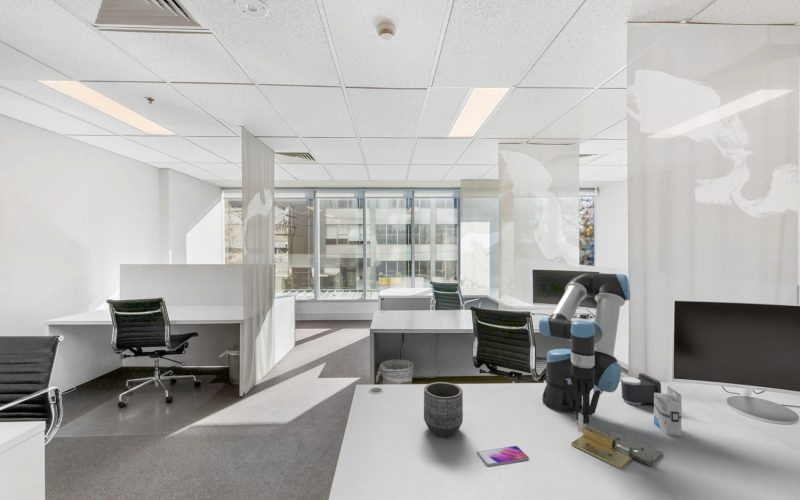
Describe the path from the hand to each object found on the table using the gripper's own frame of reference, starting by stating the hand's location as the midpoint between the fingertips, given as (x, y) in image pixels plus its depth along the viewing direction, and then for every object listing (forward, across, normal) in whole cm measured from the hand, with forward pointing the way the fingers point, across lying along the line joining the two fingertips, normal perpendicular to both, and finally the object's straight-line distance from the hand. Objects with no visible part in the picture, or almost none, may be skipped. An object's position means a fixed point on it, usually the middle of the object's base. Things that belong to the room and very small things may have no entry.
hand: (582, 431), depth 116 cm
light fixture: (+1, 0, +48) cm, 48 cm away
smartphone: (+3, -8, -33) cm, 34 cm away
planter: (+2, -30, -39) cm, 50 cm away
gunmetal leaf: (+2, +13, +5) cm, 14 cm away
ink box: (+2, +15, +31) cm, 34 cm away
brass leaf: (+2, +8, -3) cm, 9 cm away
